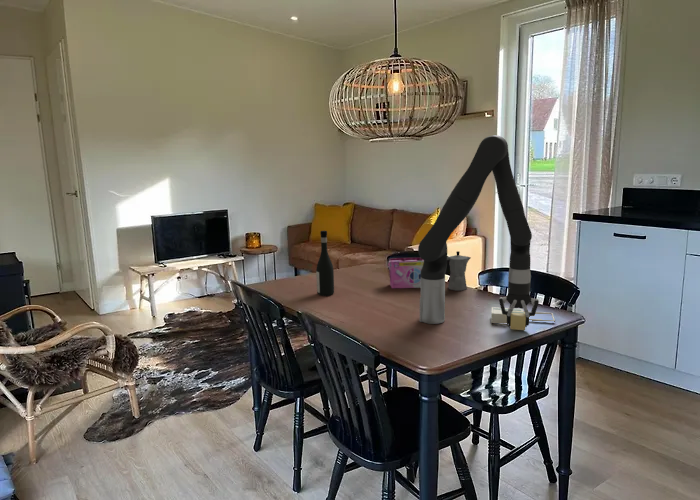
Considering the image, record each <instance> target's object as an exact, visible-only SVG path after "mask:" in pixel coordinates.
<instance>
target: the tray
mask: <svg viewBox="0 0 700 500" xmlns="http://www.w3.org/2000/svg"><path fill="white" fill-rule="evenodd" d="M523 312H524V310H523ZM528 312H531V310H528ZM535 314H551V315H552V318H553V320H542V319H529V320H532V321H554V322H555V323H556V319H555V317H554V313H553V312H544V311H536V313H535Z"/></svg>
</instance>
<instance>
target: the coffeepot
mask: <svg viewBox="0 0 700 500" xmlns="http://www.w3.org/2000/svg"><path fill="white" fill-rule="evenodd" d="M460 253H461V252H460V251H458V250H457V251H456V254H455V255H449V256H447V262H448V263H449V272H450V274H449V272H448V271H446V272H445V275H449V280H448V284H447V285H448V286H447V288H448V290H450V291H465V290H468V289H467V288H468V287H467V279H466V270H467V266H468V265H467V264H468V263H469V261H470V259H471V258H472V257H470V256H466V255H460Z"/></svg>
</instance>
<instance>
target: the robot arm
mask: <svg viewBox="0 0 700 500" xmlns="http://www.w3.org/2000/svg"><path fill="white" fill-rule="evenodd" d="M491 173H492V174H493V176H494V181H495V186H496V192H497V197H498V202H499V205H500V208H501V211H502V214H503V216H504V219H505V221H506V225H507V229H508V233H509V236H510V253H509V270H508V275H507V279H508V280H507V295H506V296H503V297H502V296H499V298H498V301H499V307H500V308H501V311H502V314H505V315H507V324H509V325H508V327H509V326H510V325H511V313H512V311H513V309H514V308H515V309H523V311H524V312H525V315H526V324H525V328H527V327H528V326H529V325H530V322H529V317H530V316H535V313H536V312H537V309H538V306H539V304H540V300H539V299H538V298H533V297H531V280H532V279H531V278H532V276H531V251H530V250H531V240H532V238H533V234H532V231H531V228H530V226H529V223H528V222H529V221H528V220H527V218H526V215H525V209H524V205H523V201H522V197H521V195H520V193H519V190H518V187H517V184H516V181H515V178H514V176H513V175H514V174H513V172H512V166H511V161H510V153H509V144H508V142H507V140H506V139H505V137H502V136H501V135H498V134H497V135H496V134H495V135H488V136H486V137H484V138H483V139H482V140H481V141H480V143H479V145H478V147H477V150H476V152H475V153H474V156H473V158H472V160H471V162H470V164H469V166H468V168H467V169H466V170H465V172H464V173H463V174H462V176H461V177H460V178H459V180H458V182H457V183H456V184H455V186H454V188H453V190H452V191H451V193H450V194H449V195H448V197H447V199H446V201H445V203H444V204H443V206H442V208H441V210H440V211H439V213H438V216H437V218H436V220H435V221H434V223H433V224H432V226H431V228H430V229H429V230H428V231H427V233H426V234H425V235H424V237H423V238H422V240H421V241H420V242H419V244H418V248H417V252H418V256H419V258H420V257H421V259H423V260H424V263H423V267H422V269H421V288H420V297H419V323H425V324H429V325H434V324H435V325H438V324H442V323H444V322H445V316H446V314H445V312H446V311H445V310H446V306H445V305H446V304H445V303H446V302H445V301H446V297H445V296H446V274H445V272H447V267H448V261H447V257H448V244H447V242H448V240H449V238H450V236H451V235H452V234H453V232H454V231H455V230H456V229H457V228H458V227H459V225H460V224H461V223H463V221H464V220H465V219H466V217H467V216H468V215H469V213H470V212H471V211H472V209H473V207H474V205H475V204H476V202H477V200H478V198H479V196H480V194H481V192H482V190H483V187H484V185H485V182H486V181H487V179H488V177H489V175H490V174H491ZM506 301H507V302H508V304H509V306H508V308H509V309H508V311H506V310H505V308H506V306H505V303H506ZM529 303H531V304H532V307H531V310H530V311H531V312H528V311H529V309H528V307H527V306H528V305H529ZM507 324H506V325H507Z"/></svg>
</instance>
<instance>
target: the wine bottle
mask: <svg viewBox="0 0 700 500" xmlns="http://www.w3.org/2000/svg"><path fill="white" fill-rule="evenodd" d="M319 233H320V244H321V245H320V249H321V250H320V256H319V259H318V262H317V265H316V271H315V273H316V276H315V277H316V294H317V295H318V296H320V297H321V296H322V297H331V296H332V295H334V294H335V271H334V265H333V263H332V261H331V258H330V255H329V253H328V236H327V235H328V231H327V230H321V231H320V232H319Z"/></svg>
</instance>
